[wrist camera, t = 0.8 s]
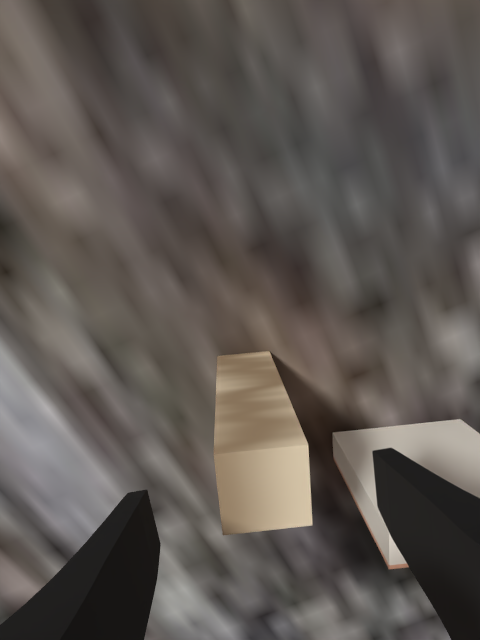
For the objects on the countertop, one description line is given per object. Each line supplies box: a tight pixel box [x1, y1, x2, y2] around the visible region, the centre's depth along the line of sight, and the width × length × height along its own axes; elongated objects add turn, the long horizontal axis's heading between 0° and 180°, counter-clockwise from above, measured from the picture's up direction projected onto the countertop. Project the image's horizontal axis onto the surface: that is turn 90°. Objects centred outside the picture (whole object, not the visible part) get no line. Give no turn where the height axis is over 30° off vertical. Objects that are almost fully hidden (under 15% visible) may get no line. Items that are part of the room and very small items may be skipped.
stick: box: [214, 351, 312, 535], centre depth 17 cm, size 3×3×10 cm
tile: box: [332, 419, 480, 569], centre depth 19 cm, size 8×2×8 cm, turn 95°
